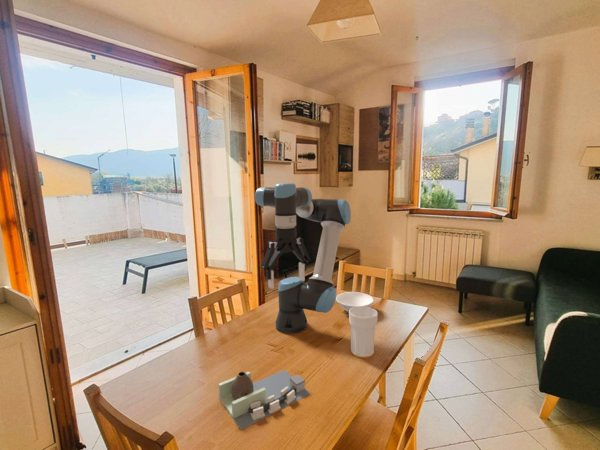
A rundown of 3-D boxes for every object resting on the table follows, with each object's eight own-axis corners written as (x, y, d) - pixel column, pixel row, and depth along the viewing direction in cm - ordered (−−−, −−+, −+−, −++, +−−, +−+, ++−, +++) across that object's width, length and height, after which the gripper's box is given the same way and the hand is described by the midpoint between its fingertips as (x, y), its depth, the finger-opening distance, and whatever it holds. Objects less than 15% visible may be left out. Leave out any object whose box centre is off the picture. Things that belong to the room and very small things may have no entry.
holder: (219, 397, 102) (218, 383, 102) (249, 384, 109) (248, 371, 108) (234, 419, 93) (233, 404, 92) (266, 403, 99) (266, 389, 99)
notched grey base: (246, 409, 96) (246, 406, 96) (296, 385, 107) (296, 382, 107) (252, 418, 93) (252, 414, 93) (304, 392, 104) (304, 388, 104)
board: (218, 400, 102) (218, 398, 102) (284, 372, 117) (284, 369, 117) (241, 433, 90) (240, 429, 89) (311, 396, 104) (311, 393, 104)
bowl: (376, 319, 159) (377, 306, 158) (337, 319, 159) (337, 306, 158) (369, 303, 178) (369, 291, 177) (333, 303, 178) (334, 291, 177)
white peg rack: (244, 408, 98) (243, 399, 97) (297, 382, 109) (297, 374, 109) (254, 422, 92) (254, 412, 92) (309, 393, 104) (309, 384, 103)
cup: (342, 348, 132) (343, 308, 130) (365, 342, 137) (366, 304, 134) (358, 363, 122) (359, 320, 119) (382, 356, 126) (383, 314, 124)
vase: (235, 410, 96) (234, 383, 95) (229, 396, 102) (227, 371, 101) (257, 402, 100) (256, 376, 98) (249, 389, 106) (248, 364, 104)
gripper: (260, 232, 104) (262, 294, 107) (319, 224, 118) (319, 279, 122) (249, 229, 110) (251, 288, 113) (307, 222, 124) (307, 274, 128)
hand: (286, 283), depth 118 cm, fingers open, 13 cm apart
